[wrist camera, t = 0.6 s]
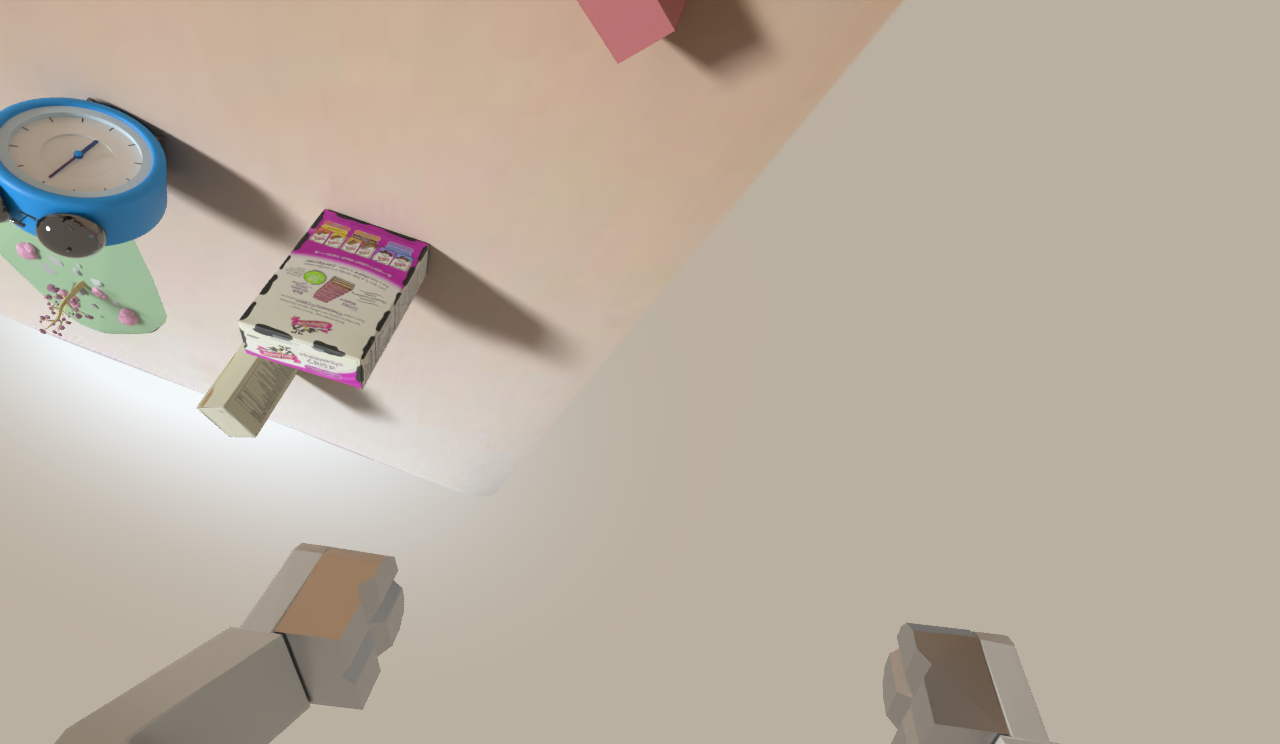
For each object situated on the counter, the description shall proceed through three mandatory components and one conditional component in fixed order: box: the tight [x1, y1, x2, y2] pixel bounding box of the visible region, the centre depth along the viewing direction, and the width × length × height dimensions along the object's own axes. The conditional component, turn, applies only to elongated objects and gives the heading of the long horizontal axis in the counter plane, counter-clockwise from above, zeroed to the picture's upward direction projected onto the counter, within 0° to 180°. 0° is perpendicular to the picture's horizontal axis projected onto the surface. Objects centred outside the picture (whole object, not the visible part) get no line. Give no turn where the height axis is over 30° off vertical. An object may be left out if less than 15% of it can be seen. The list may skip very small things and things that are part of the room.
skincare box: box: [197, 342, 298, 438], centre depth 88 cm, size 6×4×12 cm
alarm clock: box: [0, 98, 167, 258], centre depth 64 cm, size 13×6×15 cm, turn 61°
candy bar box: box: [238, 209, 429, 389], centre depth 68 cm, size 11×5×16 cm, turn 74°
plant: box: [0, 220, 167, 336], centre depth 84 cm, size 25×21×9 cm
